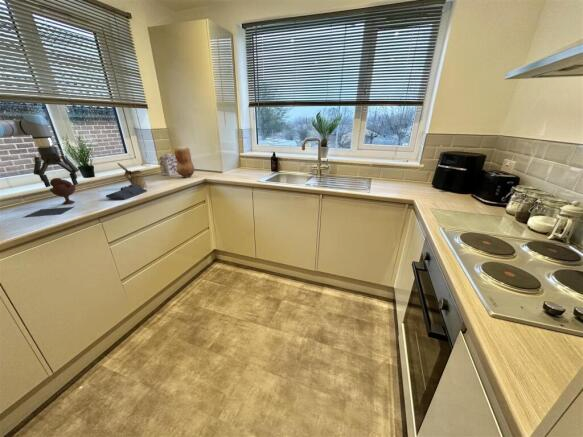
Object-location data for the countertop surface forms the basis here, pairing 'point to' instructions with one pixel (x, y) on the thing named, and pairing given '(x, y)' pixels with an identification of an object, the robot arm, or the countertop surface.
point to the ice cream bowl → (62, 189)
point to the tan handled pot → (134, 177)
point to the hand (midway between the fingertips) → (62, 185)
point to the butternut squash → (184, 161)
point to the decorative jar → (168, 164)
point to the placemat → (49, 212)
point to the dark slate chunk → (127, 192)
